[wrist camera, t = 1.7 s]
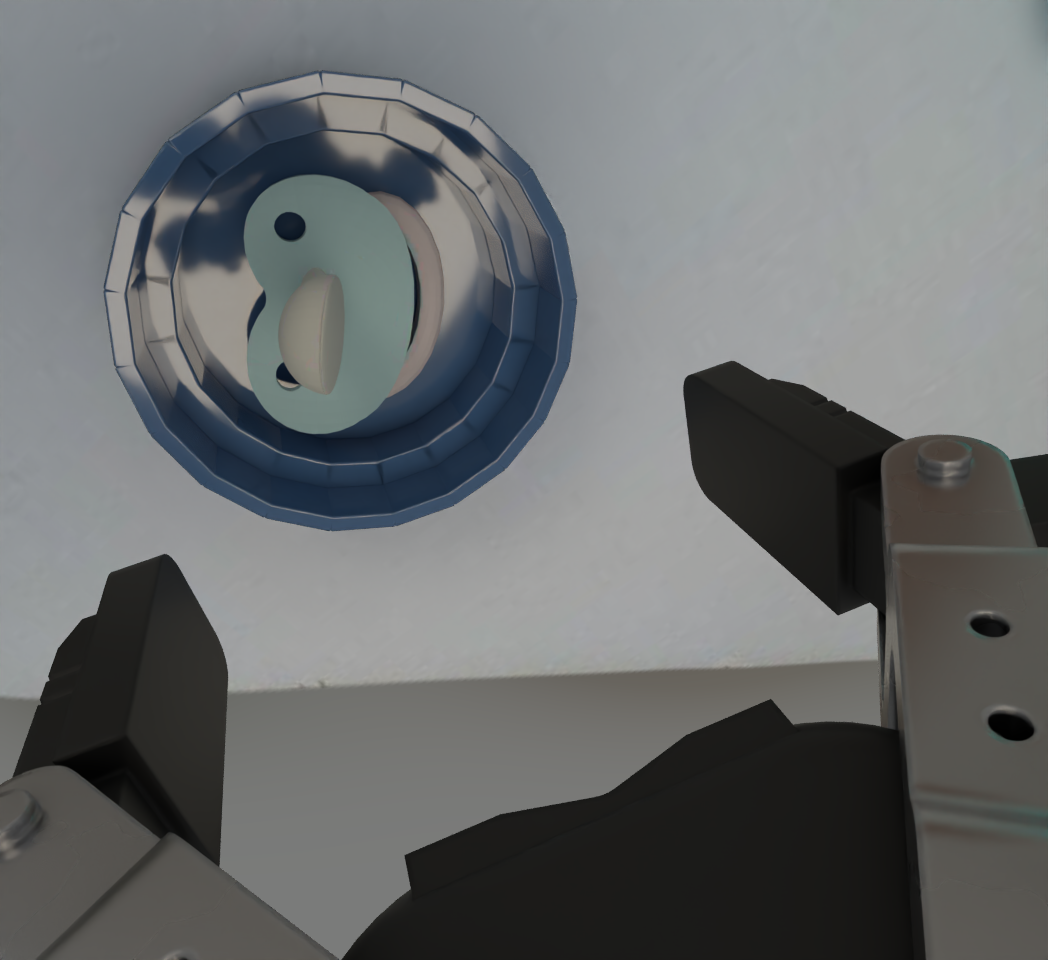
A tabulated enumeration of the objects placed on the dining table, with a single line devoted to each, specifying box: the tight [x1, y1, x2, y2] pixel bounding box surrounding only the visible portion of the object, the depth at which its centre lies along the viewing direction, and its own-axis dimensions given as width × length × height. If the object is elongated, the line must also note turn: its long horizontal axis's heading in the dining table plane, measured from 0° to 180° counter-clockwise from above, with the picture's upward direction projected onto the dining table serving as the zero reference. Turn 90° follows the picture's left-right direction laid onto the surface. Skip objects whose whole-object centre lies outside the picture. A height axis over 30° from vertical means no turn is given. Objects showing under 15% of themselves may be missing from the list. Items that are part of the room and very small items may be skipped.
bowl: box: [104, 70, 577, 531], centre depth 22 cm, size 12×12×4 cm
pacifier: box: [244, 174, 444, 434], centre depth 21 cm, size 7×6×6 cm
